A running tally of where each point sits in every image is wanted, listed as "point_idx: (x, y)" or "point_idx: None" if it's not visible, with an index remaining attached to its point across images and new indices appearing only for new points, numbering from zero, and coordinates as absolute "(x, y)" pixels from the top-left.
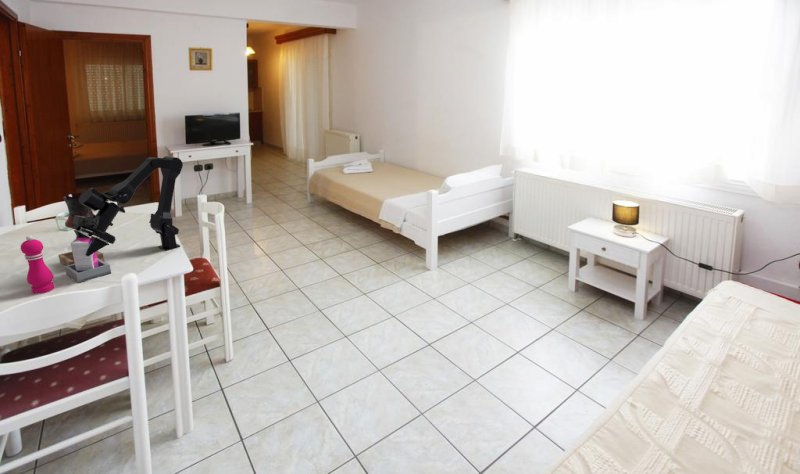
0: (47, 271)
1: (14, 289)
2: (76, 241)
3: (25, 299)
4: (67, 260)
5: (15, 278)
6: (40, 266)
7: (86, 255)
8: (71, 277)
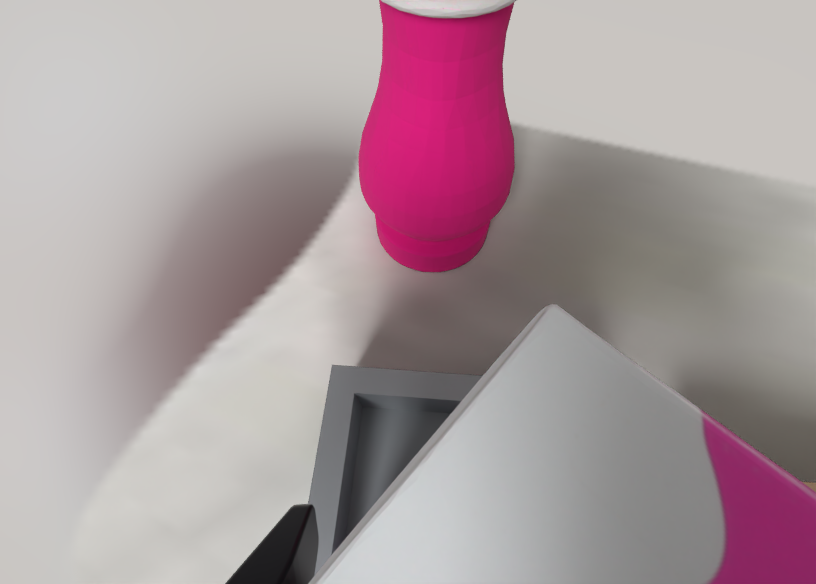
0: (379, 153)
1: (559, 156)
2: (609, 486)
3: None
4: (806, 484)
5: (743, 202)
6: (380, 72)
7: (297, 515)
8: None
